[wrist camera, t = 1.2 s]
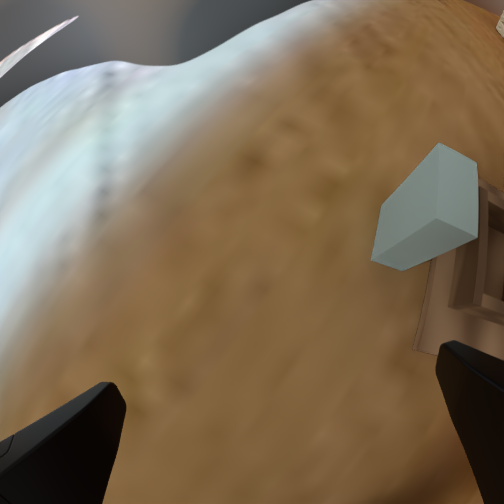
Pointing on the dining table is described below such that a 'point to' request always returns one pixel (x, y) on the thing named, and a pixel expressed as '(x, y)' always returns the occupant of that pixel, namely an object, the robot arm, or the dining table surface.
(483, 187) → the board
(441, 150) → the pale blue rectangular block
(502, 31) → the storage basket
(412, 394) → the dining table surface
